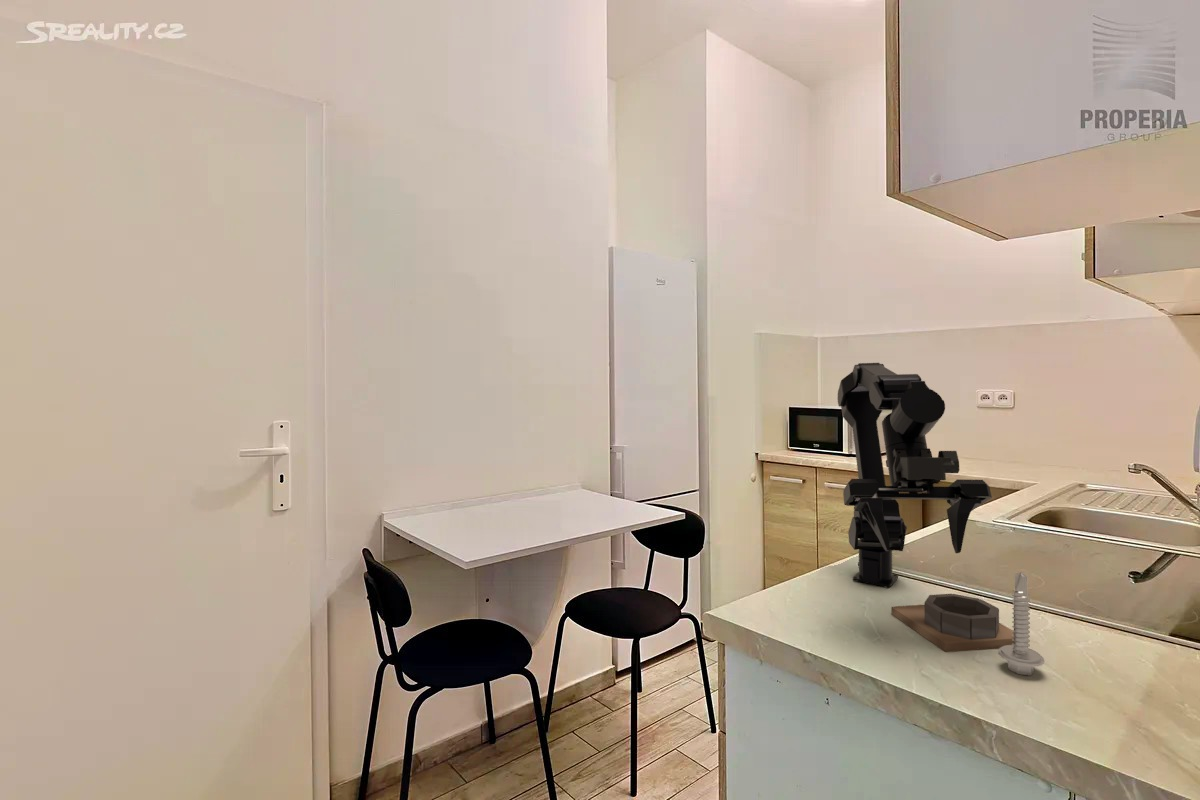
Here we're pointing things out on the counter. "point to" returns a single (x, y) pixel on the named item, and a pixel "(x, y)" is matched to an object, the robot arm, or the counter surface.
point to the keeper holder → (956, 622)
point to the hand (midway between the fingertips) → (922, 551)
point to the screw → (1021, 633)
